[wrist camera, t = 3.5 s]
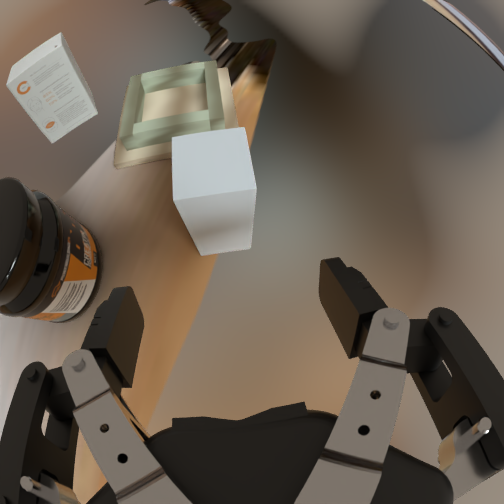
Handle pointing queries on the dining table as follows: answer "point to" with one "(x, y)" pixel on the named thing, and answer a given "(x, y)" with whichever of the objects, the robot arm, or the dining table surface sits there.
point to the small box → (52, 89)
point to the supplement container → (44, 257)
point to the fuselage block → (215, 188)
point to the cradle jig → (172, 110)
